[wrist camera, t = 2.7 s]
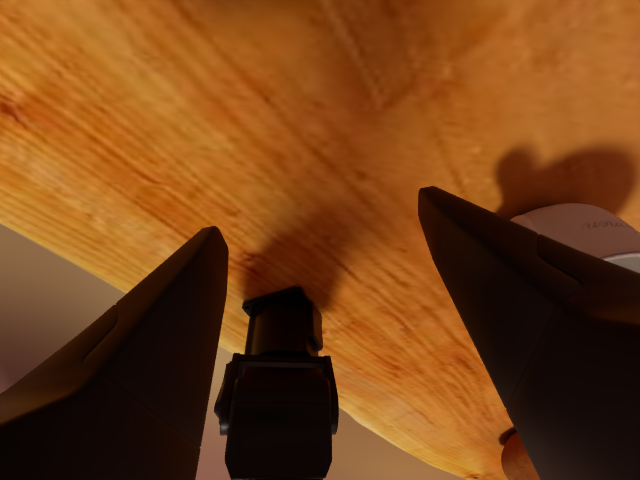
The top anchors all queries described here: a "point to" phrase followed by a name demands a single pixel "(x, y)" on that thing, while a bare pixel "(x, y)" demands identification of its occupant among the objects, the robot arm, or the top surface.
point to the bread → (517, 460)
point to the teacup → (587, 231)
